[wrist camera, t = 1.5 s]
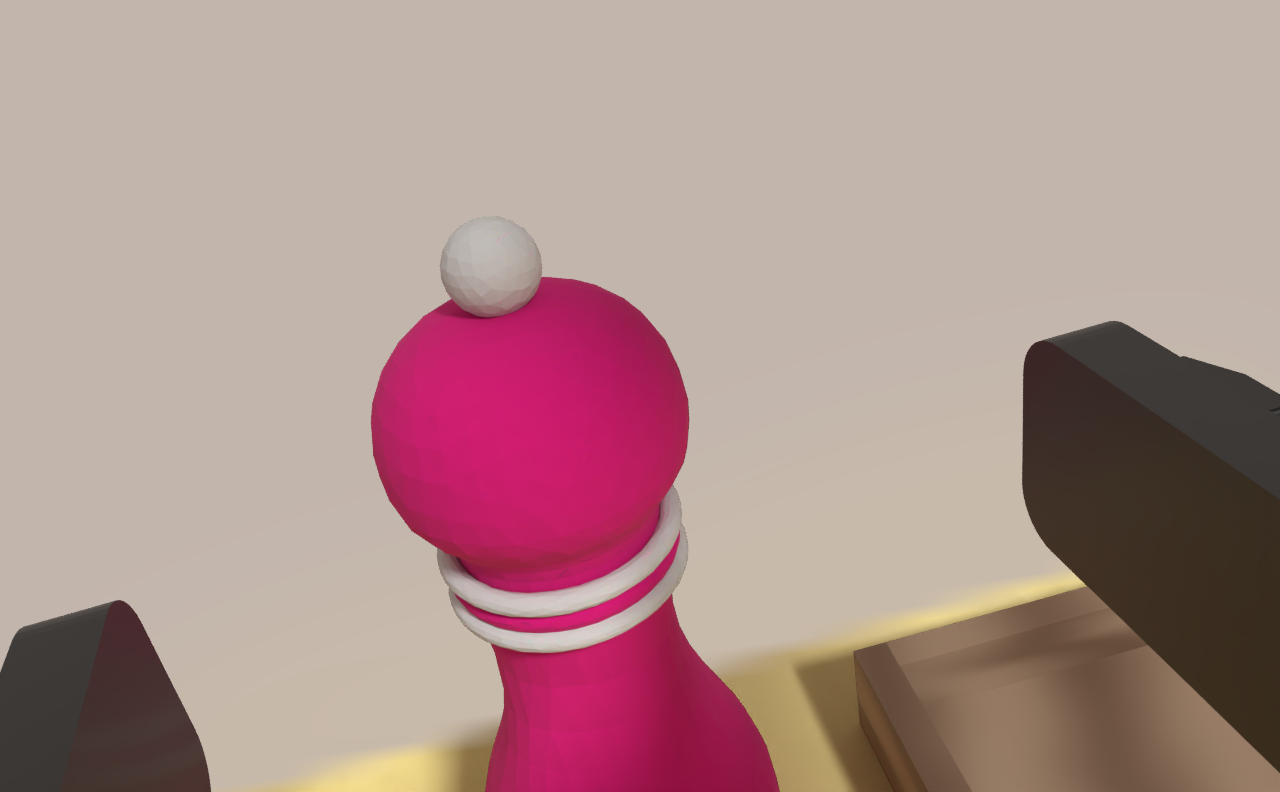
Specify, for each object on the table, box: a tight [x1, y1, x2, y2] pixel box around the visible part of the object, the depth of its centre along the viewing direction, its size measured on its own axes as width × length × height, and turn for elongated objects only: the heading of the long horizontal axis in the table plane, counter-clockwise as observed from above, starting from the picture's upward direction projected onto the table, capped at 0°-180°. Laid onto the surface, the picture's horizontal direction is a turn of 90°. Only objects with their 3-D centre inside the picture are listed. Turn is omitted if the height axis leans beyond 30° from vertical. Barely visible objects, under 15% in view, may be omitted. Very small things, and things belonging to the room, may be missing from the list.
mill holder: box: [853, 586, 1280, 792], centre depth 28 cm, size 12×12×3 cm
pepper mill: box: [371, 217, 780, 792], centre depth 24 cm, size 7×7×20 cm
